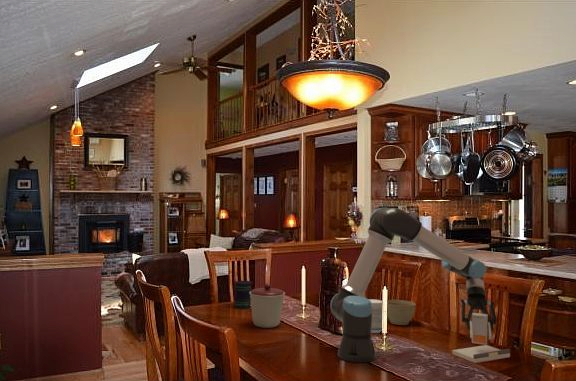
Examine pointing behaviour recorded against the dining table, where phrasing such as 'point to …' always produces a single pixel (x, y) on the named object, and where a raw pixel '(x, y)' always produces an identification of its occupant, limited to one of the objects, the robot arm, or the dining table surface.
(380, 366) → the dining table surface
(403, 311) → the planter bowl
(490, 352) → the flat cream box
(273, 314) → the canister
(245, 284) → the storage jar
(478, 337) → the skincare box
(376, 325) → the supplement tub
